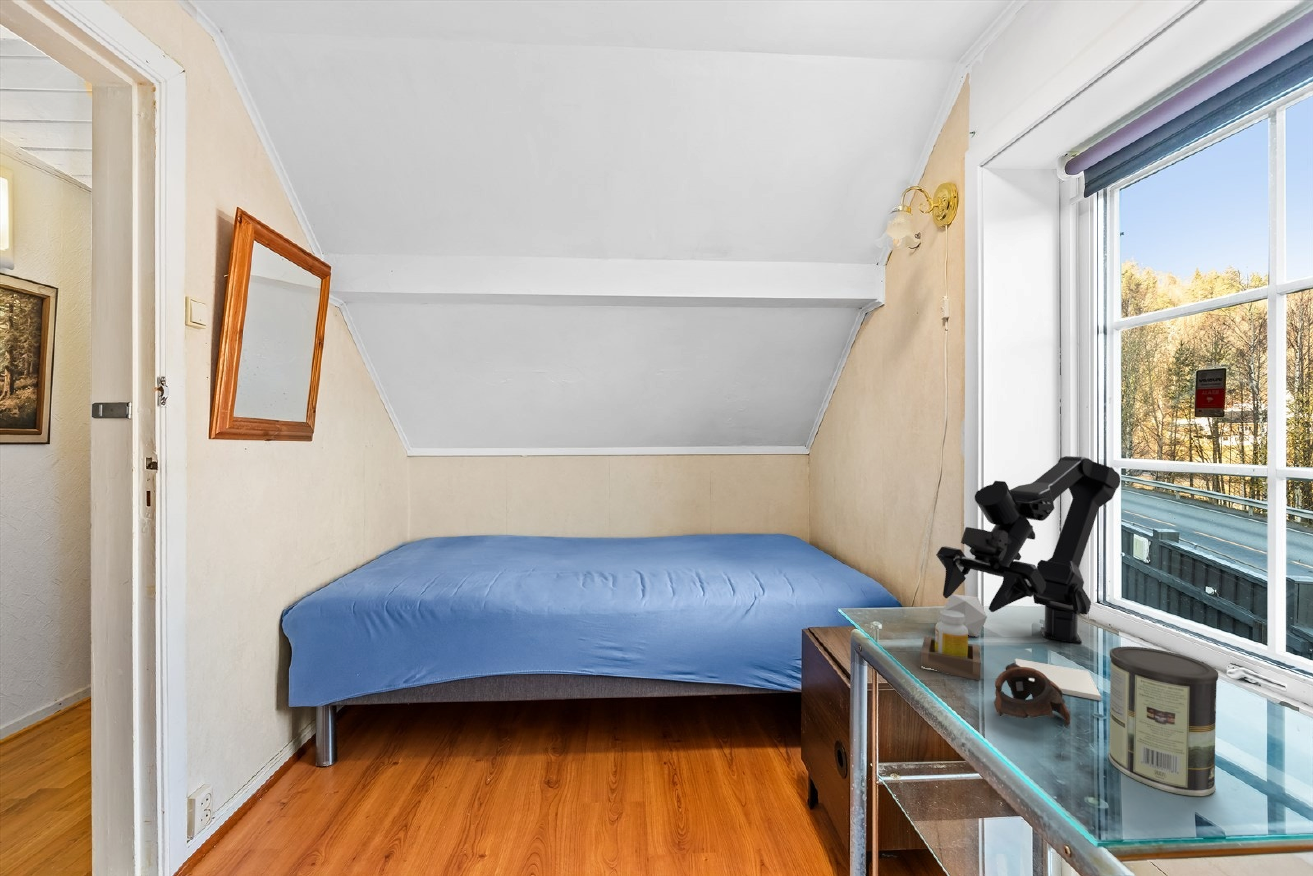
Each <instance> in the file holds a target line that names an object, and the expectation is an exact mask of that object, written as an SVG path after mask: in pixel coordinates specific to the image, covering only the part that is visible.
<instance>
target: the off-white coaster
mask: <svg viewBox="0 0 1313 876" xmlns="http://www.w3.org/2000/svg"><path fill="white" fill-rule="evenodd" d="M1014 664H1017V665H1018V666H1020V667H1028V668H1033V669H1035V670H1038V671H1040V672H1041V673H1043V674H1044V675H1045V676H1046V677H1047V678H1048V679H1049V680H1051V681H1052V682H1053V683H1055V684H1056V685H1057V686H1058V687H1059V688H1060V690H1061V691H1062V695H1063V694H1064V695H1068V696H1075V697H1079V698H1085V699H1089V700H1095V701H1099V702H1100V701H1102V695H1101V693H1100V691H1099V690H1098V687H1097V685H1096V683H1095V682H1094V680H1093V677H1092V676H1091V673H1090V671H1088V670H1083V669H1078V668H1072V667H1066V666H1061V665H1055V664H1050V663H1049V664H1048V663H1043V662H1037V661H1031V660H1025V659H1020V658H1014ZM1029 680H1030V681H1033V682H1034V679H1033V678H1029Z"/></svg>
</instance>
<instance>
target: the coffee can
mask: <svg viewBox="0 0 1313 876" xmlns="http://www.w3.org/2000/svg"><path fill="white" fill-rule="evenodd" d="M1109 659H1110V680H1109V681H1110V687H1109V689H1110V690H1109V691H1110V692H1109V694H1110V695H1109V696H1110V699H1109V741H1108V742H1109V744H1108V745H1109V747H1108V748H1109V749H1108V751H1109V752H1108V761H1109V762H1110V763H1111V764H1112V766H1113V767H1115V768H1116V769H1117V770H1118V771H1120V772H1121V773H1122V774H1124V775H1126V776H1128V777H1130V778H1131V779H1133V780H1135V781H1136V782H1140V783H1141V784H1144V785H1147V786H1149V787H1152V788H1155V789H1157V790H1160V791H1164V792H1167V793H1172V794H1178V795H1183V796H1189V797H1190V796H1191V797H1205V796H1209V795H1212V794H1213V793H1215V791H1216V782H1215V780H1216V777H1215V775H1216V721H1217V719H1216V718H1217V717H1216V716H1217V685H1218V679H1219V672H1218V671H1217V669H1215V668H1214V667H1212V666H1211V665H1210V664H1207V663H1205V662H1203V661H1200V660H1198V659H1195V658H1192V657H1189V656H1186V655H1184V654H1180V653H1175V652H1171V651H1165V650H1161V649H1156V648H1155V649H1154V648H1151V647H1150V648H1148V647H1143V646H1142V647H1140V646H1116V647H1113V648H1111V649H1110V650H1109Z"/></svg>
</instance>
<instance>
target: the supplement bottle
mask: <svg viewBox="0 0 1313 876" xmlns="http://www.w3.org/2000/svg"><path fill="white" fill-rule="evenodd" d="M939 620H940V621H938V622H937V623H936V624H935V627H934V628H935V631H934V638H935V653H941V654H946V655H952V656H958V657H963V658H967V654H968V644H969V636H968V629H967V628H966V626H964V625H963V623H964V622H965V616H964V614H963V613H960V612H957V611H952V610H944V609H942V610H940V611H939Z"/></svg>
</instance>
